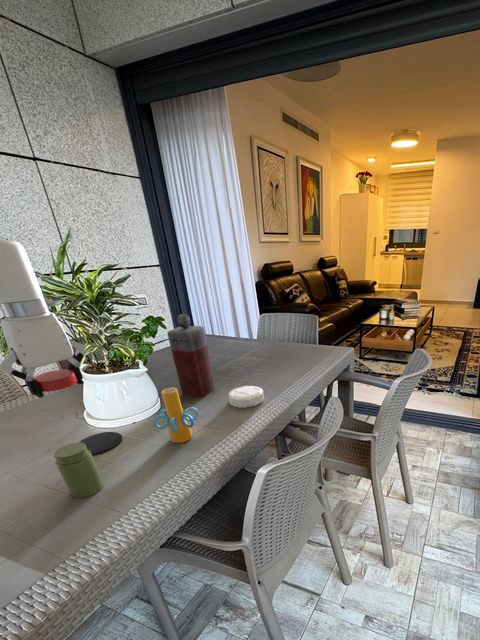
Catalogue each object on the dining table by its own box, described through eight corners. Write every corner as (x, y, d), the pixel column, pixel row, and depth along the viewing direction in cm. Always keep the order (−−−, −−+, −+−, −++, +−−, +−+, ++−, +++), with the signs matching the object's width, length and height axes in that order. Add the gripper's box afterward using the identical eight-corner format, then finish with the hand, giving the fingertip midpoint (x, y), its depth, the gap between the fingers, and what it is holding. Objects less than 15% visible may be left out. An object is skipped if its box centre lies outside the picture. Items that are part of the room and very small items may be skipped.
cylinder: (210, 433, 104) (200, 386, 96) (185, 451, 96) (171, 401, 88) (179, 426, 108) (167, 380, 101) (152, 442, 100) (137, 394, 93)
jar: (64, 494, 81) (44, 455, 76) (90, 477, 87) (73, 439, 81) (85, 500, 79) (66, 460, 74) (110, 482, 84) (94, 444, 79)
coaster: (65, 451, 98) (64, 449, 97) (101, 430, 107) (101, 429, 107) (96, 459, 94) (95, 457, 93) (131, 436, 103) (131, 435, 103)
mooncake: (271, 397, 124) (270, 388, 123) (247, 411, 116) (246, 401, 114) (246, 391, 130) (245, 382, 129) (222, 403, 122) (220, 393, 120)
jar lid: (75, 376, 84) (72, 366, 83) (80, 385, 79) (76, 375, 77) (36, 384, 80) (32, 375, 79) (38, 394, 74) (33, 384, 73)
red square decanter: (189, 385, 137) (172, 311, 123) (215, 387, 135) (201, 312, 121) (176, 394, 130) (156, 317, 116) (203, 397, 127) (186, 317, 113)
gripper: (61, 300, 79) (89, 374, 88) (-36, 316, 67) (7, 400, 75) (79, 303, 76) (106, 379, 84) (-21, 319, 63) (23, 407, 72)
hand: (59, 389), depth 80 cm, fingers closed on jar lid, 7 cm apart
